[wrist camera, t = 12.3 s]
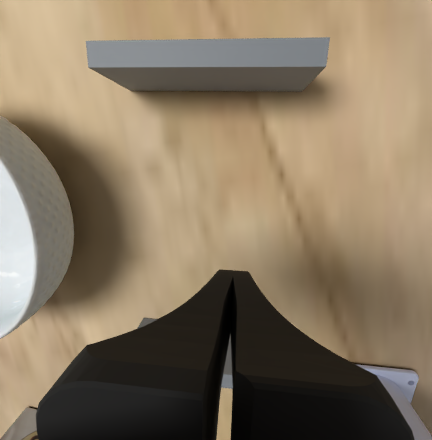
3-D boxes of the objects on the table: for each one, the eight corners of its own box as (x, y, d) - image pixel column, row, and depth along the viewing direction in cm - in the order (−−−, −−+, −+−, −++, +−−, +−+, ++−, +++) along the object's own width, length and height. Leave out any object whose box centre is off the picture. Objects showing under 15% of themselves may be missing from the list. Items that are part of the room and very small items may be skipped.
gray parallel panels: (274, 341, 22) (283, 394, 17) (144, 329, 23) (118, 375, 18) (304, 71, 16) (329, 37, 11) (129, 71, 17) (86, 41, 13)
